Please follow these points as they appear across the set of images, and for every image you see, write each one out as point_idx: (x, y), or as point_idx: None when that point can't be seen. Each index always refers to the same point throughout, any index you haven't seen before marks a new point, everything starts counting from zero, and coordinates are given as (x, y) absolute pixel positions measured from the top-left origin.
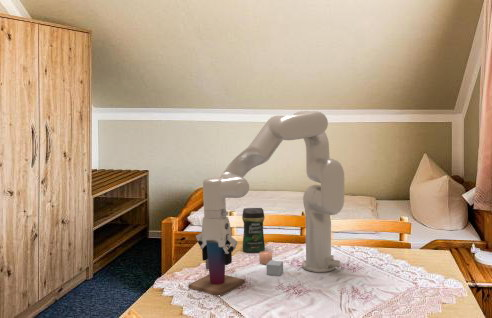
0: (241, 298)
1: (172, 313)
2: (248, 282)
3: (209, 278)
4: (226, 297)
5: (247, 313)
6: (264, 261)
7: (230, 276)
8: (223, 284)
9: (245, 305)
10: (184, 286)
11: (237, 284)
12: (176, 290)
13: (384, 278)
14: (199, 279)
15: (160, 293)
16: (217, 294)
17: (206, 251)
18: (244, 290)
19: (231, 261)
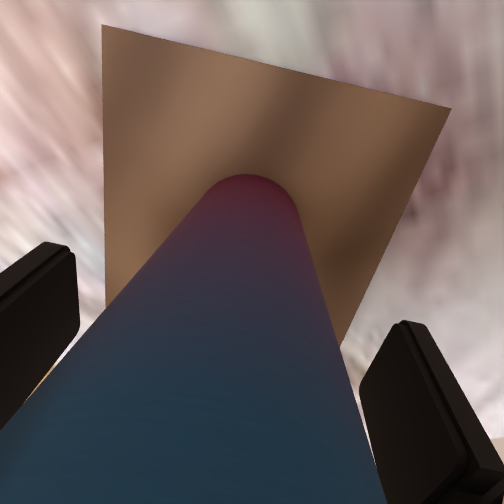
0: (451, 335)
1: None
2: (469, 85)
3: (160, 182)
4: (366, 342)
5: (498, 437)
6: None
7: (301, 80)
8: None
9: (482, 389)
10: (80, 282)
11: (401, 207)
12: (84, 332)
13: None
14: (109, 222)
15: (49, 371)
16: None
17: (4, 375)
18: (455, 240)
19: (426, 332)
